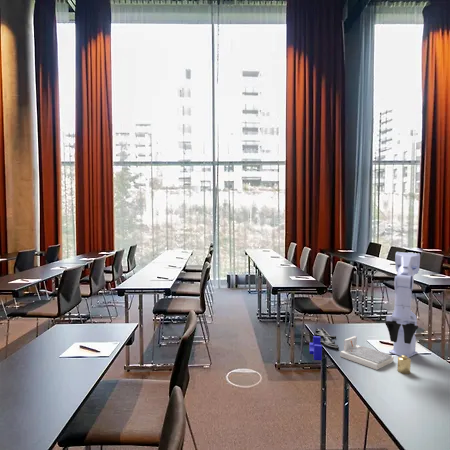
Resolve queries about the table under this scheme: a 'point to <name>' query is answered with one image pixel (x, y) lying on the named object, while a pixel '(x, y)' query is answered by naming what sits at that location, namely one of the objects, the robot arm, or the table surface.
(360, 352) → the pan
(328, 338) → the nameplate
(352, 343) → the scale base
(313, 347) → the blue stepped block
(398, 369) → the brass weight
